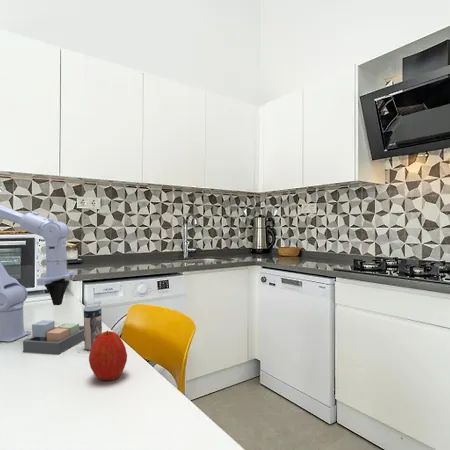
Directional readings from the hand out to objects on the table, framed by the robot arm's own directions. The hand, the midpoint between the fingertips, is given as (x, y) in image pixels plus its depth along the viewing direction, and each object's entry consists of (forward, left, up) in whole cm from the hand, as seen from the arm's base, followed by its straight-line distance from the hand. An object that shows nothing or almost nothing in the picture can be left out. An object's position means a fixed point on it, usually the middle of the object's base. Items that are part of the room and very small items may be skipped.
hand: (57, 304), depth 108 cm
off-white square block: (+2, -4, -8) cm, 10 cm away
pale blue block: (+2, -9, -6) cm, 11 cm away
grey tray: (+5, -6, -10) cm, 12 cm away
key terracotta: (+7, -9, -8) cm, 14 cm away
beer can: (+17, -7, -10) cm, 21 cm away
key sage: (+7, -4, -8) cm, 11 cm away
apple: (+31, -23, -10) cm, 40 cm away
